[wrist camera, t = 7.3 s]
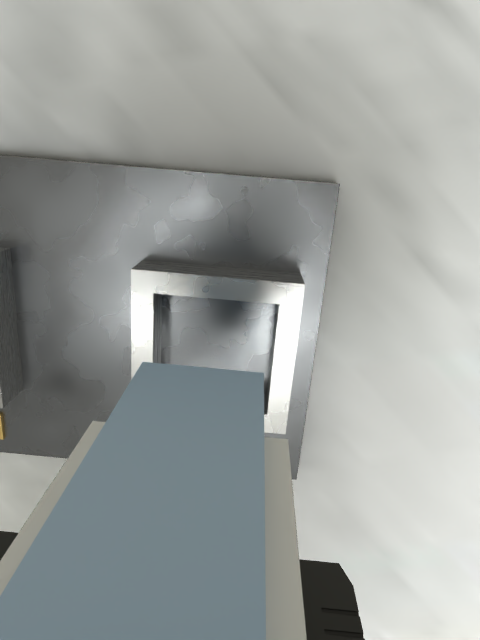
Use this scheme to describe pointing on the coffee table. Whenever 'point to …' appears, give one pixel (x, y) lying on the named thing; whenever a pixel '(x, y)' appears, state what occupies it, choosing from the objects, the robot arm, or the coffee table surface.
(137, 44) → the coffee table surface
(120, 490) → the plug
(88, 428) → the robot arm
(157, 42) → the coffee table surface
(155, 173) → the panel
